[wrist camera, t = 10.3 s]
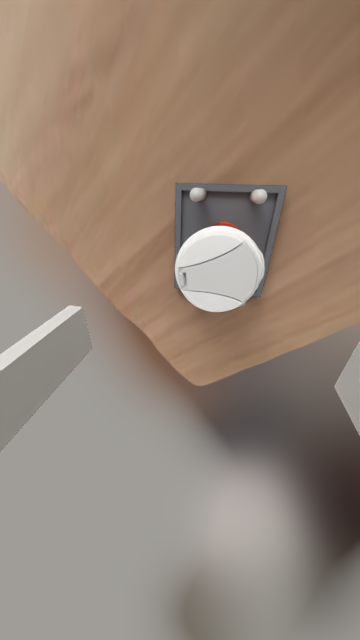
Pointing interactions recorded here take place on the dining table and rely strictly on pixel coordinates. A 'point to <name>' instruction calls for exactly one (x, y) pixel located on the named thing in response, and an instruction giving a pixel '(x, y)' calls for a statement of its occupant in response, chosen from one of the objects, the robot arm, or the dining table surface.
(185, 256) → the coffee cup
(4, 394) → the robot arm
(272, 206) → the tray
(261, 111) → the dining table surface
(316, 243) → the dining table surface
